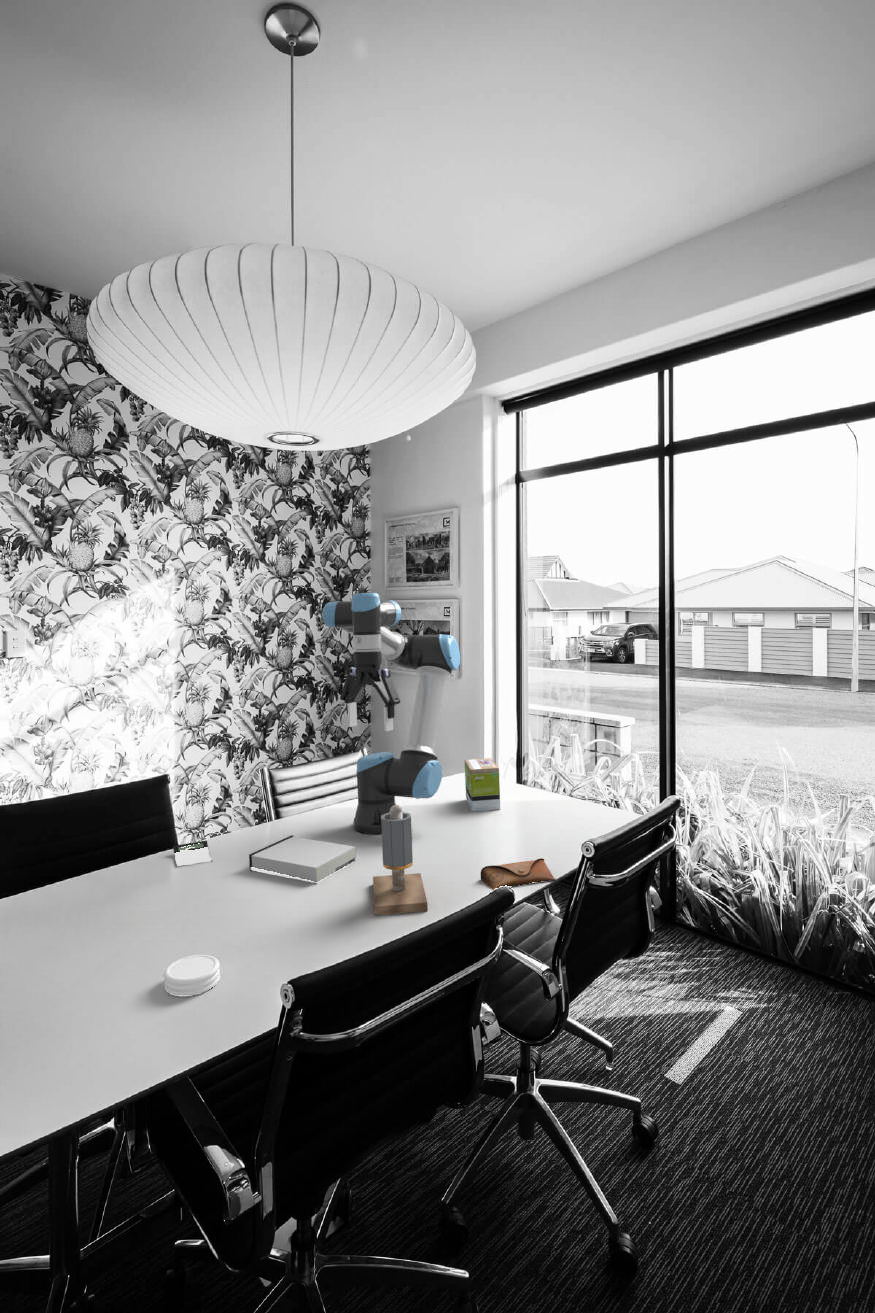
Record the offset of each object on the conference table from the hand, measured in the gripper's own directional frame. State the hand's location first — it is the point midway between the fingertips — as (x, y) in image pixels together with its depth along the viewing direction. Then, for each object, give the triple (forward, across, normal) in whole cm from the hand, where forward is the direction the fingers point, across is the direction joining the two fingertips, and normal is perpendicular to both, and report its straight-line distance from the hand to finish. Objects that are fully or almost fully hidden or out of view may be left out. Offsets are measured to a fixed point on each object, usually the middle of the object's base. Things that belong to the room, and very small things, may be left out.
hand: (370, 728), depth 195 cm
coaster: (+37, +16, -67) cm, 78 cm away
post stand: (+37, +22, -15) cm, 45 cm away
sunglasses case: (+37, +40, +10) cm, 56 cm away
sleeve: (+28, +22, -15) cm, 39 cm away
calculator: (+37, -45, -28) cm, 65 cm away
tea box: (+37, -6, +60) cm, 71 cm away
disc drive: (+37, -13, -14) cm, 42 cm away
